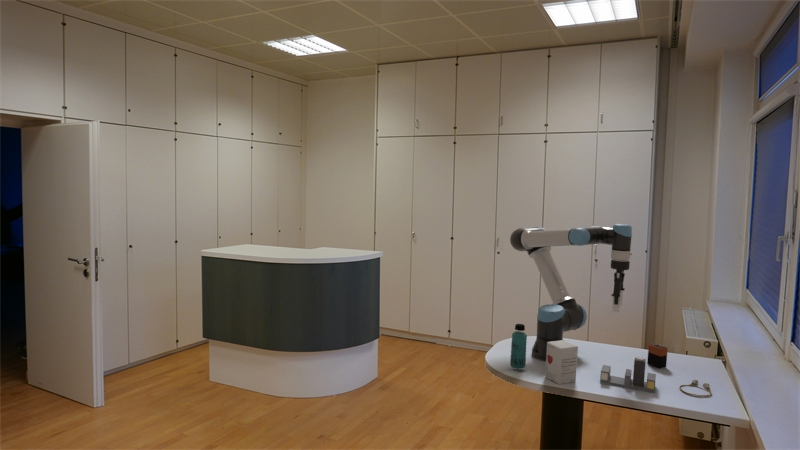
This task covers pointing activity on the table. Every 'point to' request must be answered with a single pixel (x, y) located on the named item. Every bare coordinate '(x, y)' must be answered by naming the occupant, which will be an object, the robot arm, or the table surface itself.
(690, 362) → the table surface
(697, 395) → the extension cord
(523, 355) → the beverage bottle
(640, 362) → the plug
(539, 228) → the robot arm
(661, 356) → the battery
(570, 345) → the supplement box
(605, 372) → the grey three-post rail
